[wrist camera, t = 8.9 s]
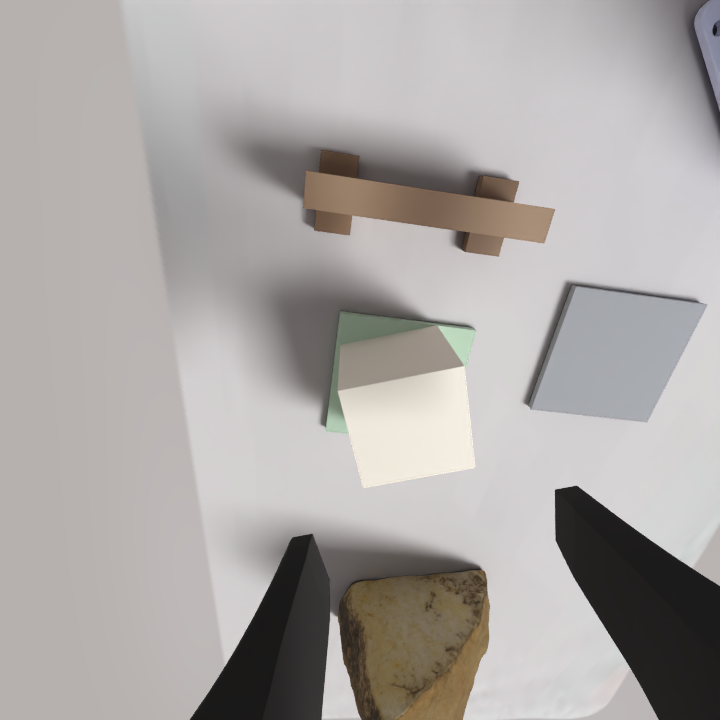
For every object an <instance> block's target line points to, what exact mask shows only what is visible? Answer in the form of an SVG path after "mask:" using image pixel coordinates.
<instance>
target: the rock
mask: <svg viewBox="0 0 720 720" xmlns="http://www.w3.org/2000/svg"><path fill="white" fill-rule="evenodd" d="M489 609H490V604H489V599H488V593H487V578H486V574H485V571H483V570H469V571H464V572H455V573H438V574H432V575H422V576H402V577H389V578H385V579H379V580H377V581H371V580H367V581H361V582H357V583H355V584H352V585H351V587H350V588H349V589H348V590H347V592H346V593H345V595H344V597H343V598H342V600H341V602H340V606H339V617H338V622H339V625H340V636H341V644H342V652H343V660H344V664H345V666H346V668H347V672H348V674H349V677H350V682H351V687H352V689H353V692H354V696H355V701H356V706H357V709H358V713H359V715H360V717H361V719H362V720H463V716H464V712H465V708H466V704H467V701H468V698H469V695H470V692H471V690H472V687H473V684H474V677H475V675H476V672H477V670H478V666H479V663H480V660H481V658H482V657H483V655H484V654H485V653H486V651H487V648H488V642H489V626H488V623H489Z"/></svg>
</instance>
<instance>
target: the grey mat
mask: <svg viewBox="0 0 720 720" xmlns="http://www.w3.org/2000/svg"><path fill="white" fill-rule="evenodd" d="M706 307H707V305H706V304H703V303H698V302H691V301H684V300H676V299H669V298H662V297H655V296H647V295H640V294H633V293H626V292H618V291H611V290H604V289H597V288H589V287H582V286H575V285H572V286H571V289H570V291H569V294H568V297H567V300H566V302H565V305H564V308H563V311H562V314H561V316H560V319H559V322H558V325H557V327H556V330H555V333H554V336H553V338H552V341H551V344H550V347H549V350H548V352H547V355H546V358H545V361H544V363H543V366H542V369H541V372H540V374H539V377H538V380H537V383H536V386H535V388H534V391H533V394H532V397H531V399H530V402H529V405H528V406H529V407H530V409H531V410H540V411H549V412H558V413H567V414H576V415H585V416H595V417H604V418H613V419H622V420H631V421H640V422H648V420H649V418H650V416H651V414H652V412H653V410H654V408H655V406H656V404H657V402H658V400H659V398H660V396H661V394H662V392H663V390H664V389H665V387H666V385H667V383H668V381H669V379H670V377H671V375H672V373H673V371H674V369H675V367H676V365H677V363H678V361H679V359H680V357H681V355H682V354H683V352H684V350H685V348H686V346H687V344H688V342H689V340H690V338H691V336H692V334H693V332H694V330H695V328H696V326H697V324H698V322H699V321H700V319H701V317H702V315H703V313H704V311H705V309H706Z"/></svg>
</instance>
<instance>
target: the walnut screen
mask: <svg viewBox="0 0 720 720" xmlns="http://www.w3.org/2000/svg"><path fill="white" fill-rule="evenodd" d="M358 163H359V156H356V155H350V154H344V153H337V152H331V151H325V150H321V158H320V170H319V173H317V172H311V171H306V174H305V188H304V201H303V208H306V209H313V210H316V217H315V228H314V230H315V231H322V232H329V233H336V234H343V235H350V229H351V221H352V215H354V216H360V217H367V218H374V219H381V220H388V221H395V222H401V223H408V224H415V225H422V226H429V227H436V228H442V229H449V230H456V231H463V232H466V235H465V239H464V243H463V247H462V250H463V251H465V252H470V253H477V254H484V255H491V256H498V257H499V253H500V250H501V246H502V243H503V239H504V238H511V239H518V240H525V241H531V242H538V243H545V240H546V236H547V233H548V230H549V227H550V224H551V221H552V218H553V214H554V211H555V209H551V208H545V207H538V206H532V205H525V204H519V203H514V199H515V195H516V192H517V188H518V184H519V181H514V180H507V179H501V178H495V177H489V176H479V180H478V184H477V188H476V193H475V197H473V196H467V195H460V194H454V193H447V192H441V191H434V190H428V189H421V188H415V187H408V186H402V185H395V184H389V183H382V182H376V181H369V180H363V179H357V171H358Z"/></svg>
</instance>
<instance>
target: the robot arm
mask: <svg viewBox="0 0 720 720" xmlns="http://www.w3.org/2000/svg"><path fill="white" fill-rule="evenodd" d="M714 24H716V26H717V33H716V36H714V35H713V33H712V29H713V26H714ZM694 26H695V31H696V34H697V37H698V41H699V44H700V47H701V51H702V54H703V57H704V61H705V64H706V67H707V70H708V74H709V77H710V80H711V84H712V87H713V90H714V93H715V97H716V100H717V103H718V107H719V110H720V0H710V1H708V2H707V3H706V4H704V5H703V6H702V7H701V8H700V9H699V11H698V13H697V15H696V17H695V21H694ZM555 530H556V542H557V544H558V546H559V548H560V550H561V552H562V555H563V557H564V559H565V561H566V563H567V565H568V567H569V569H570V571H571V573H572V575H573V577H574V578H575V580H576V582H577V583H578V585H579V587H580V588H581V590H582V591H583V593H584V595H585V596H586V598H587V599H588V601H589V603H590V604H591V606H592V608H593V609H594V611H595V612H596V614H597V615H598V617H599V619H600V620H601V622H602V623H603V625H604V627H605V628H606V630H607V631H608V633H609V635H610V636H611V638H612V639H613V641H614V643H615V644H616V646H617V647H618V649H619V651H620V652H621V654H622V655H623V657H624V658H625V660H626V662H627V663H628V665H629V666H630V668H631V670H632V672H633V673H634V675H635V677H636V678H637V680H638V682H639V683H640V685H641V687H642V688H643V691H644V693H645V694H646V696H647V698H648V700H649V702H650V704H651V706H652V708H653V710H654V711H655V713H656V715H657V717H658V719H659V720H720V586H719V585H717V584H716V583H714V582H712V581H710V580H709V579H708V578H706V577H704V576H703V575H701V574H700V573H698V572H697V571H695V570H694V569H692V568H691V567H689V566H688V565H686V564H684V563H683V562H681V561H680V560H678V559H677V558H675V557H674V556H672V555H671V554H670V553H668V552H667V551H665V550H664V549H662V548H661V547H659V546H658V545H657V544H655V543H654V542H652V541H651V540H649V539H648V538H647V537H645V536H644V535H642V534H641V533H639V532H638V531H637V530H635V529H634V528H633V527H631V526H630V525H628V524H627V523H626V522H624V521H623V520H622V519H620V518H619V517H618V516H616V515H615V514H614V513H612V512H611V511H610V510H608V509H607V508H606V507H604V506H603V505H602V504H600V503H599V502H598V501H596V500H595V499H594V498H592V497H591V496H590V495H589V494H587V493H586V492H585V491H583V490H582V489H581V488H579V487H578V486H573V487H567V488H562V489H556V490H555ZM329 623H330V587H329V577H328V575H327V572H326V569H325V566H324V564H323V561H322V558H321V556H320V553H319V550H318V547H317V545H316V542H315V539H314V537H313V534H309V535H303V536H298V537H293V538H292V539H291V541H290V543H289V545H288V547H287V550H286V552H285V554H284V556H283V558H282V561H281V563H280V565H279V567H278V569H277V571H276V573H275V576H274V578H273V580H272V582H271V584H270V586H269V588H268V590H267V592H266V594H265V596H264V598H263V600H262V602H261V604H260V606H259V608H258V610H257V611H256V613H255V615H254V617H253V619H252V621H251V623H250V624H249V626H248V628H247V630H246V631H245V633H244V635H243V637H242V639H241V640H240V642H239V644H238V646H237V647H236V649H235V651H234V653H233V654H232V656H231V658H230V659H229V661H228V663H227V664H226V666H225V667H224V669H223V671H222V672H221V674H220V675H219V677H218V679H217V680H216V682H215V683H214V685H213V686H212V688H211V690H210V691H209V693H208V694H207V696H206V697H205V699H204V700H203V702H202V703H201V704H200V706H199V707H198V709H197V710H196V711H195V713H194V714H193V716H192V717H191V719H190V720H321V718H322V705H323V693H324V682H325V670H326V659H327V648H328V636H329Z"/></svg>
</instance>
